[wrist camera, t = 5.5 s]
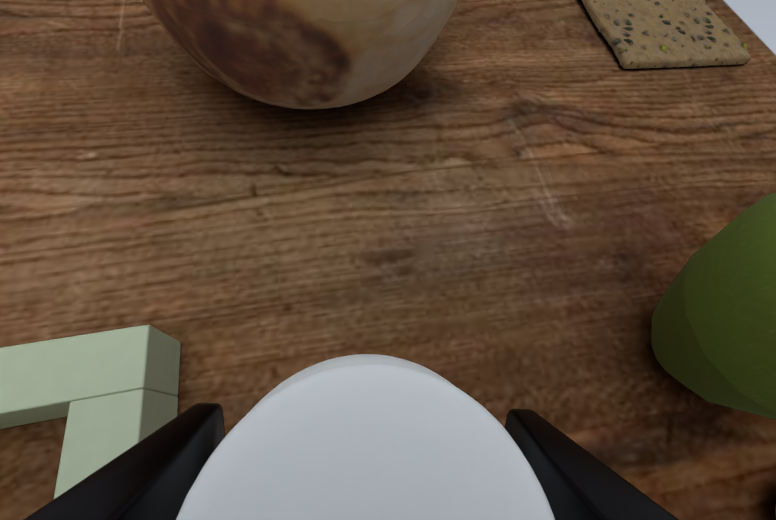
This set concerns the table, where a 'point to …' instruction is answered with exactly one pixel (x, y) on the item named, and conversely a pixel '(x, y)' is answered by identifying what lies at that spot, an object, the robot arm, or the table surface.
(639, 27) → the cookie
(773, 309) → the apple
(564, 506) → the robot arm
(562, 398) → the table surface
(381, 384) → the pill bottle
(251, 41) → the clay pot
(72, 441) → the frame
